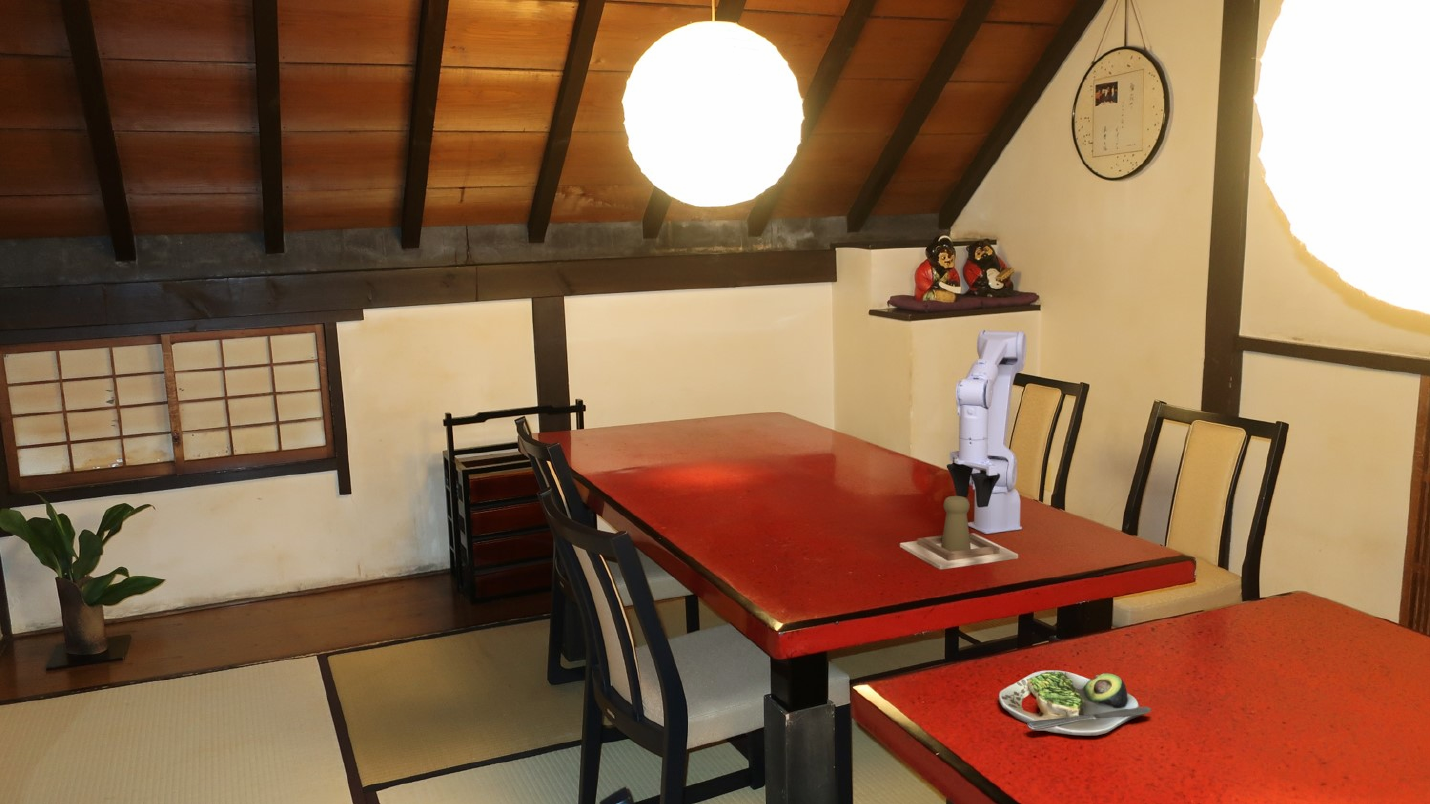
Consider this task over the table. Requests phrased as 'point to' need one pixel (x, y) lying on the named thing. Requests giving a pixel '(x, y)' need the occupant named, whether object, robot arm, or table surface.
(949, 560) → the socket board
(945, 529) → the olive tapered peg
